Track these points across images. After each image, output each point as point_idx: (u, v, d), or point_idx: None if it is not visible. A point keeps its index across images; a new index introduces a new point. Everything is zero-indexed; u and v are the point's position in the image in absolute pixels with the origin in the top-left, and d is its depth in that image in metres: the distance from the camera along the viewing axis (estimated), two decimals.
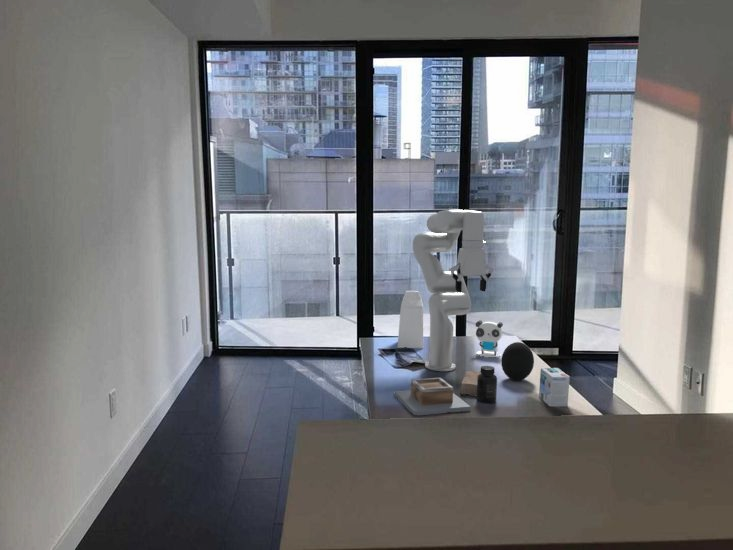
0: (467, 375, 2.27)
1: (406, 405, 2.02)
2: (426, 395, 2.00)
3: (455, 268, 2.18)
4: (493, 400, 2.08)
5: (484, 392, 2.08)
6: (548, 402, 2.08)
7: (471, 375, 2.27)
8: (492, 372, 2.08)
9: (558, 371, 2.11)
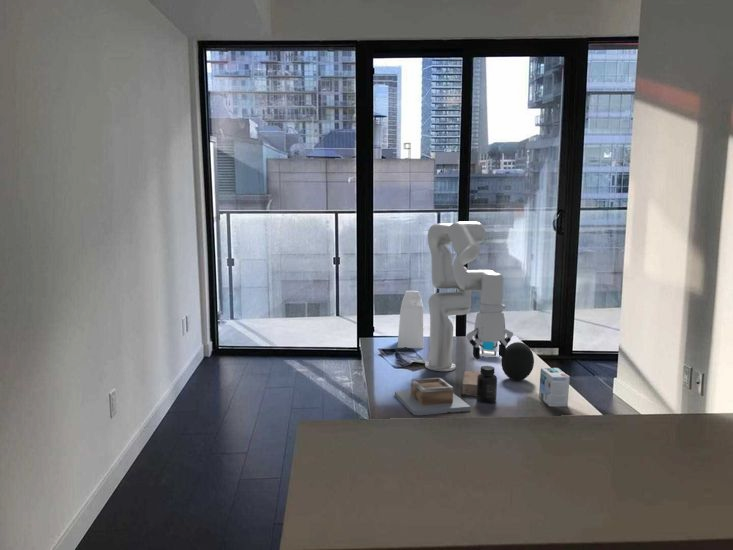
0: (466, 375, 2.27)
1: (406, 405, 2.02)
2: (426, 395, 2.00)
3: (473, 334, 2.05)
4: (493, 400, 2.08)
5: (484, 392, 2.08)
6: (548, 402, 2.08)
7: (470, 375, 2.27)
8: (492, 372, 2.08)
9: (558, 371, 2.11)
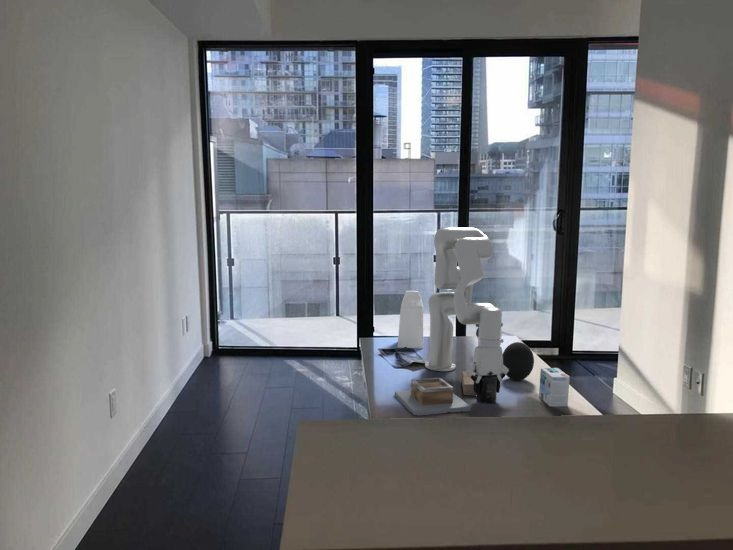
0: (465, 375, 2.26)
1: (406, 405, 2.02)
2: (426, 395, 2.00)
3: (472, 370, 2.07)
4: (493, 400, 2.08)
5: (484, 392, 2.08)
6: (548, 402, 2.08)
7: None
8: None
9: (558, 371, 2.11)
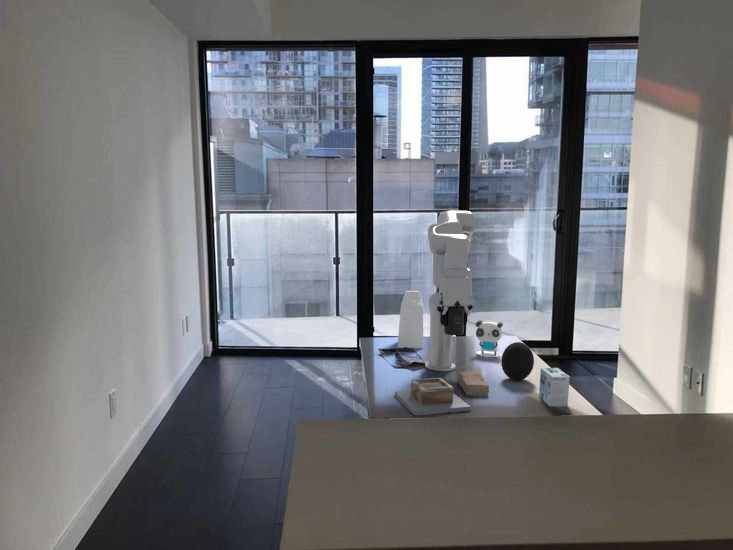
0: (463, 376, 2.26)
1: (406, 405, 2.02)
2: (426, 395, 2.00)
3: (438, 300, 2.01)
4: (460, 332, 2.02)
5: (451, 324, 2.02)
6: (548, 402, 2.08)
7: (467, 375, 2.26)
8: None
9: (558, 371, 2.11)
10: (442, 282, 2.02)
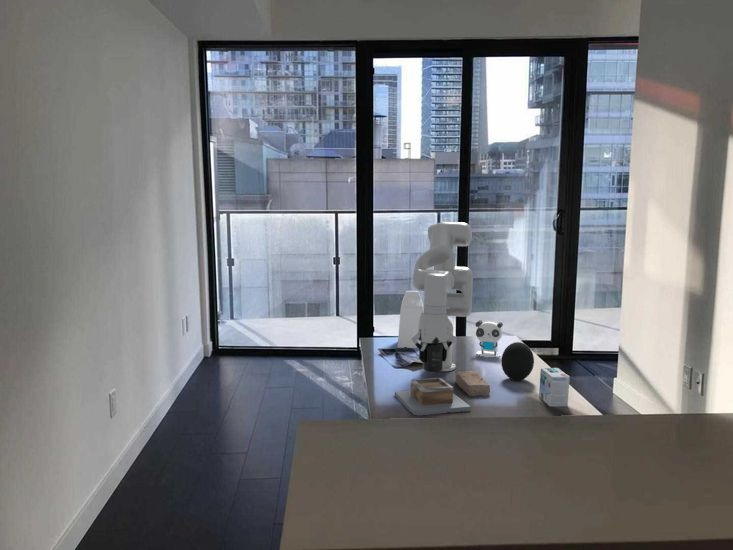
0: (462, 376, 2.25)
1: (406, 405, 2.02)
2: (426, 395, 2.00)
3: (417, 337, 2.02)
4: (439, 368, 2.03)
5: (429, 360, 2.02)
6: (548, 402, 2.08)
7: (465, 375, 2.26)
8: (438, 340, 2.02)
9: (558, 371, 2.11)
10: (421, 319, 2.02)
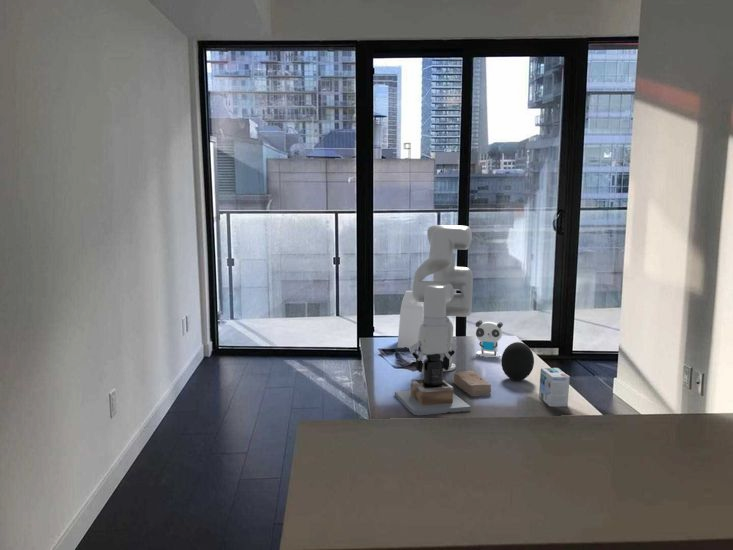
0: (461, 376, 2.25)
1: (406, 405, 2.02)
2: (426, 395, 2.00)
3: (415, 347, 2.02)
4: (439, 385, 2.04)
5: (429, 377, 2.03)
6: (548, 402, 2.08)
7: (464, 376, 2.26)
8: (438, 357, 2.03)
9: (558, 371, 2.11)
10: (420, 330, 2.03)
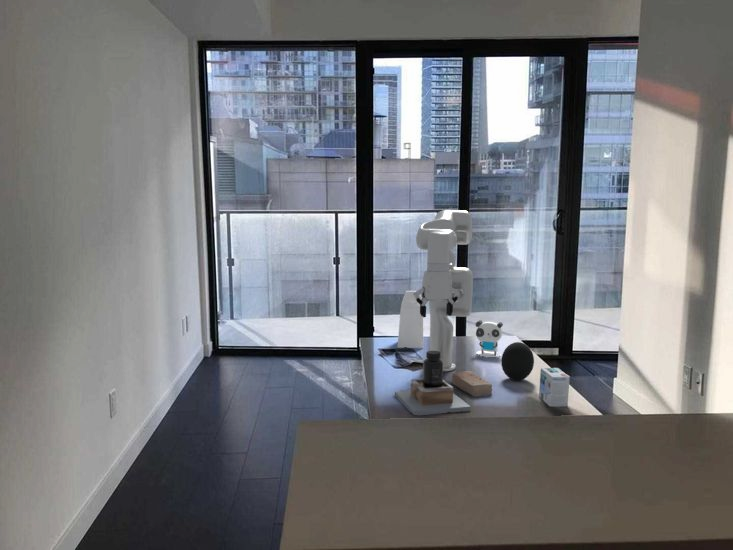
0: (461, 377, 2.24)
1: (406, 405, 2.02)
2: (426, 395, 2.00)
3: (419, 292, 2.06)
4: (439, 385, 2.04)
5: (429, 377, 2.03)
6: (548, 402, 2.08)
7: (464, 376, 2.26)
8: (438, 357, 2.03)
9: (558, 371, 2.11)
10: (424, 276, 2.07)
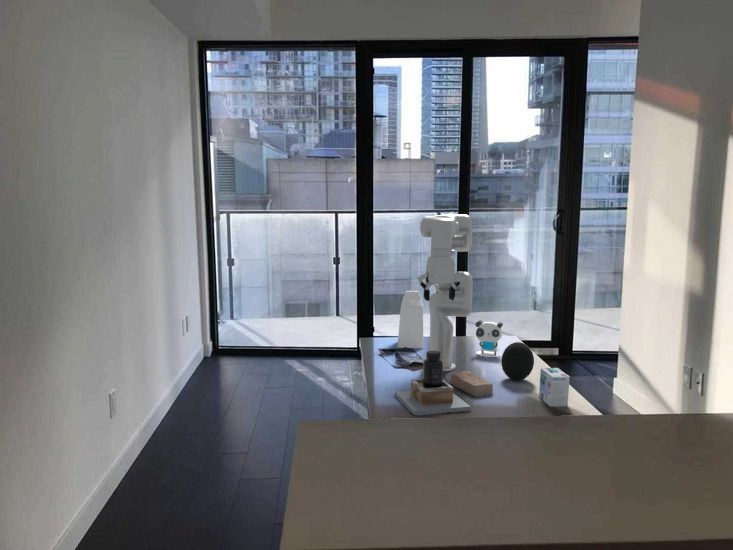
0: (460, 377, 2.24)
1: (406, 405, 2.02)
2: (426, 395, 2.00)
3: (423, 277, 2.16)
4: (439, 385, 2.04)
5: (429, 377, 2.03)
6: (548, 402, 2.08)
7: (463, 376, 2.25)
8: (438, 357, 2.03)
9: (558, 371, 2.11)
10: (428, 261, 2.16)
